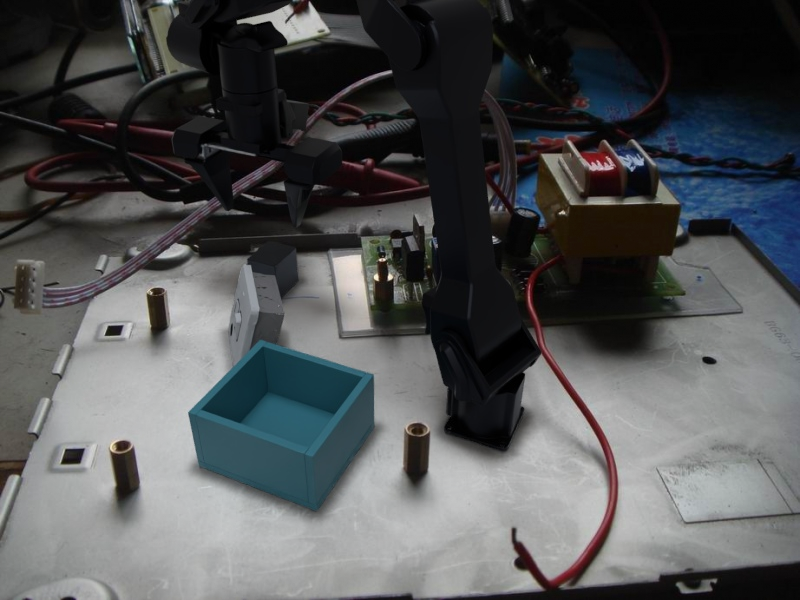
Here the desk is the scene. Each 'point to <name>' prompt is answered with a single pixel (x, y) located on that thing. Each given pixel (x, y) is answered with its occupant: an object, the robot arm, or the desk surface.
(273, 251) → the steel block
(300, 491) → the bin
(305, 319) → the desk surface
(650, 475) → the desk surface
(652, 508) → the desk surface
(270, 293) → the electrical switch
